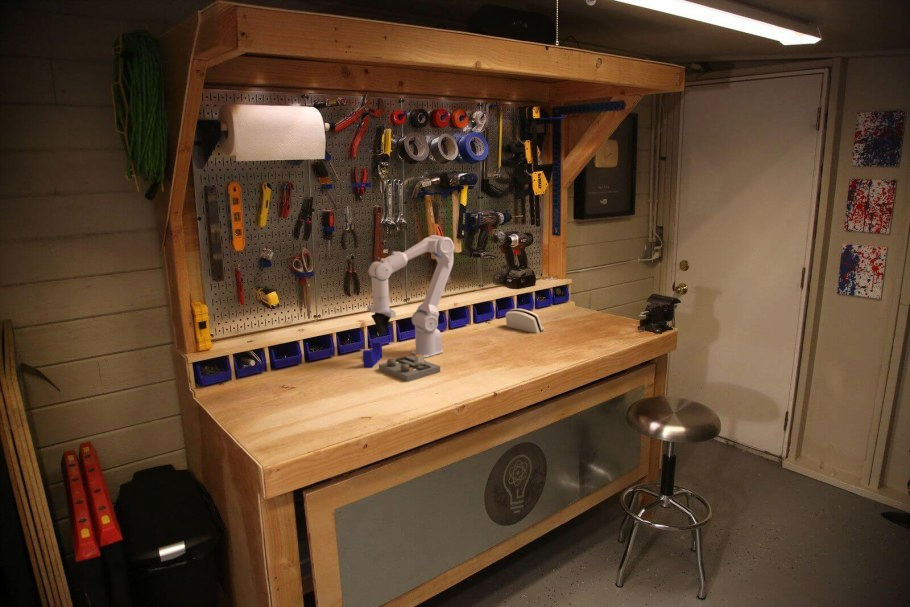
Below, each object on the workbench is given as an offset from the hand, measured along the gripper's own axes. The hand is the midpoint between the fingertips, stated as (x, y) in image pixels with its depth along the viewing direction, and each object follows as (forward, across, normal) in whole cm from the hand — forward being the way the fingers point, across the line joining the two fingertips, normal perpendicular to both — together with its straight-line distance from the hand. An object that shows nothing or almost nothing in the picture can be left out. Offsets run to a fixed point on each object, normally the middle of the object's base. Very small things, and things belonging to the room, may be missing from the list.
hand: (382, 333), depth 216 cm
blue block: (+11, -3, -3) cm, 12 cm away
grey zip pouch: (+11, +6, +68) cm, 69 cm away
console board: (+10, +14, +1) cm, 17 cm away
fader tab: (+8, +18, +2) cm, 20 cm away
